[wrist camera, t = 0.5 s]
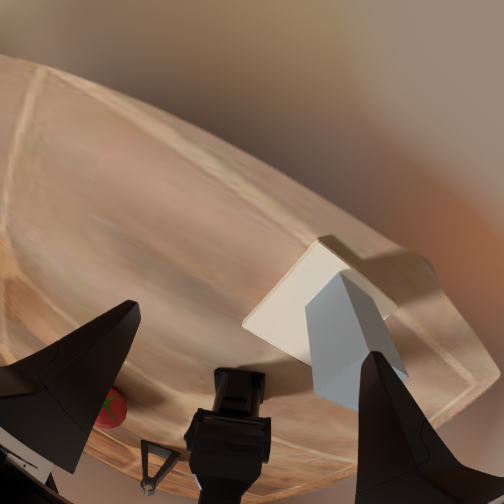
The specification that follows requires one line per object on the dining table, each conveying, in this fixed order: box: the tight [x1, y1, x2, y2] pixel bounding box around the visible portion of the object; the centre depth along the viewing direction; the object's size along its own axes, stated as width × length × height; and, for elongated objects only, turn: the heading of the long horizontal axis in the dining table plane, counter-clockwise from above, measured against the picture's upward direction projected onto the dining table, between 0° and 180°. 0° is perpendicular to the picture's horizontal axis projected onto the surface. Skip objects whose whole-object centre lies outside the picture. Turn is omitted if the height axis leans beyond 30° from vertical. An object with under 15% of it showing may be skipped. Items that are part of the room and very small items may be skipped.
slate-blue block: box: [305, 272, 409, 412], centre depth 22 cm, size 5×5×11 cm
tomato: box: [94, 387, 127, 429], centre depth 35 cm, size 8×8×8 cm
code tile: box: [242, 239, 398, 366], centre depth 28 cm, size 12×12×1 cm
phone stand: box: [141, 440, 180, 496], centre depth 42 cm, size 9×6×12 cm, turn 72°
